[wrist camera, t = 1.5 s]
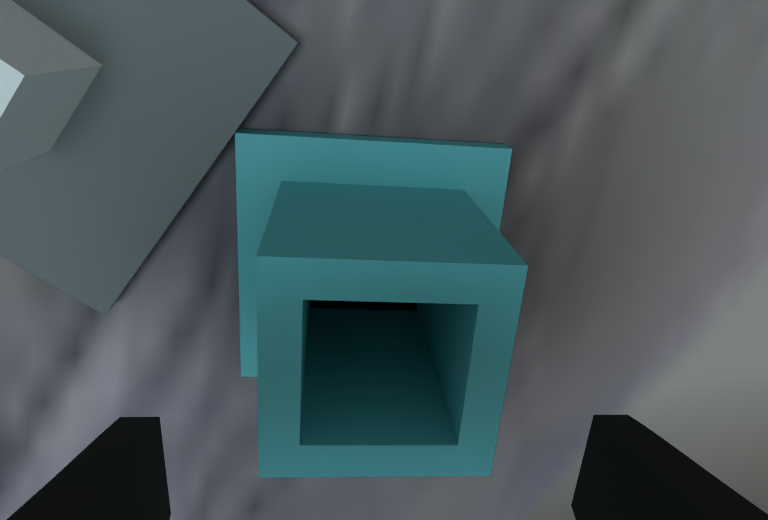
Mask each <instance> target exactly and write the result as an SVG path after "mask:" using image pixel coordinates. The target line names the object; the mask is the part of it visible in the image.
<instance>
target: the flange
mask: <svg viewBox="0 0 768 520" xmlns="http://www.w3.org/2000/svg"><path fill="white" fill-rule="evenodd" d="M511 154H512V148H510V147H509V146H507V145H505V144H496V143H479V142H462V141H445V140H427V139H410V138H393V137H376V136H359V135H342V134H325V133H307V132H290V131H273V130H256V129H238V130H237V131H236V132H235V156H236V195H237V235H238V275H239V314H240V354H241V377H258V449H259V478H269V477H428V476H491V471H492V465H493V460H494V454H495V448H496V443H497V437H498V432H499V426H500V420H501V415H502V409H503V404H504V398H505V392H506V387H507V381H508V376H509V370H510V365H511V359H512V353H513V348H514V342H515V337H516V331H517V325H518V320H519V314H520V309H521V303H522V297H523V292H524V286H525V281H526V275H527V269H528V265H527V264H526V262H525V261H524V260H523V259H522V258H521V257H520V255H519V254H518V253H517V252H516V251H515V250H514V248H513V247H512V246H511V245H510V244H509V242H508V241H507V240H506V239H505V238H504V237H503V235H502V234H501V233H500V225H501V219H502V212H503V206H504V200H505V193H506V187H507V180H508V174H509V167H510V161H511ZM311 300H330V301H367V302H404V303H417V311H404V310H365V309H326V308H310V302H311Z"/></svg>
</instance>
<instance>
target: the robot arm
mask: <svg viewBox="0 0 768 520" xmlns="http://www.w3.org/2000/svg"><path fill="white" fill-rule="evenodd" d="M571 506H572V509H573V512H574V515H575V518H576V520H768V514H767V513H765V512H764V511H762V510H761V509H759V508H758V507H756V506H755V505H754V504H752V503H751V502H749V501H748V500H746V499H745V498H744V497H742V496H741V495H740V494H738V493H737V492H735V491H734V490H733V489H731V488H730V487H728V486H727V485H726V484H724V483H723V482H721V481H720V480H719V479H717V478H716V477H715V476H713V475H712V474H710V473H709V472H708V471H706V470H705V469H704V468H702V467H701V466H699V465H698V464H697V463H695V462H694V461H693V460H691V459H690V458H689V457H687V456H686V455H684V454H683V453H682V452H680V451H679V450H677V449H676V448H675V447H674V446H672V445H671V444H669V443H668V442H667V441H665V440H664V439H662V438H661V437H659V436H658V435H657V434H656V433H654V432H653V431H651V430H650V429H648V428H647V427H646V426H644V425H643V424H641V423H640V422H638V421H637V420H635V419H633V418H632V417H630V416H629V415H594V416H593V420H592V424H591V428H590V432H589V436H588V440H587V444H586V448H585V452H584V456H583V460H582V464H581V468H580V472H579V476H578V480H577V485H576V489H575V493H574V497H573V501H572V505H571ZM170 515H171V511H170V503H169V494H168V486H167V477H166V468H165V460H164V451H163V443H162V434H161V426H160V417H120V418H118V419H117V420H116V421H115V422H114V423H113V424H112V425H111V426H109V427H108V428H107V429H106V430H105V431H104V432H103V433H102V434H100V435H99V436H98V437H97V438H96V439H95V440H94V441H93V442H92V443H91V444H90V445H89V446H87V447H86V448H85V449H84V450H83V451H82V452H81V453H80V454H79V455H78V456H77V457H76V458H74V459H73V460H72V461H71V462H70V463H69V464H68V465H67V466H66V467H65V468H64V469H63V470H61V471H60V472H59V473H58V474H57V475H56V476H55V477H54V478H53V479H52V480H51V481H49V482H48V483H47V484H46V485H45V486H44V487H43V488H42V489H41V490H39V491H38V492H37V493H36V494H35V495H34V496H33V497H32V498H30V499H29V500H28V501H27V502H26V503H25V504H24V505H23V506H21V507H20V508H19V509H18V510H17V511H16V512H15V513H14V514H12V515H11V516H10V517H9V518H8V519H7V520H169V519H170Z"/></svg>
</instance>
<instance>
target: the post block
mask: <svg viewBox="0 0 768 520" xmlns="http://www.w3.org/2000/svg"><path fill="white" fill-rule="evenodd" d="M299 43H300V42H299V41H298V40H296V39H295V38H294V37H293V36H292V35H290V34H289V33H288V32H287V31H286V30H284V29H283V28H282V27H281V26H279V25H278V24H277V23H276V22H275V21H273V20H272V19H271V18H270V17H269V16H267V15H266V14H265V13H264V12H262V11H261V10H260V9H259V8H258V7H256V6H255V5H254V4H253V3H251V2H250V1H249V0H0V255H1V256H2V257H4V258H6V259H8V260H9V261H11V262H13V263H15V264H16V265H18V266H20V267H21V268H23V269H25V270H27V271H28V272H30V273H32V274H34V275H35V276H37V277H39V278H41V279H42V280H44V281H46V282H48V283H49V284H51V285H53V286H55V287H56V288H58V289H60V290H62V291H63V292H65V293H67V294H68V295H70V296H72V297H74V298H75V299H77V300H79V301H81V302H82V303H84V304H86V305H88V306H89V307H91V308H93V309H95V310H96V311H98V312H100V313H102V314H103V315H106V314H107V312H108V311H109V310H110V309H111V308H112V306H113V305H114V304H115V303H116V301H117V300H118V299H119V297H120V296H121V294H122V293H123V291H124V290H125V289H126V287H127V286H128V284H129V283H130V282H131V280H132V279H133V277H134V276H135V275H136V273H137V272H138V270H139V269H140V267H141V266H142V265H143V263H144V262H145V260H146V259H147V258H148V256H149V255H150V253H151V252H152V251H153V249H154V248H155V246H156V245H157V243H158V242H159V241H160V239H161V238H162V236H163V235H164V234H165V232H166V231H167V229H168V228H169V227H170V225H171V224H172V222H173V221H174V219H175V218H176V217H177V215H178V214H179V212H180V211H181V210H182V208H183V207H184V205H185V204H186V203H187V201H188V200H189V198H190V197H191V195H192V194H193V193H194V191H195V190H196V188H197V187H198V186H199V184H200V183H201V181H202V180H203V179H204V177H205V176H206V174H207V173H208V171H209V170H210V169H211V167H212V166H213V164H214V163H215V162H216V160H217V159H218V157H219V156H220V155H221V153H222V152H223V150H224V149H225V147H226V146H227V145H228V143H229V142H230V140H231V139H232V138H233V136H234V135H235V132H236V131H237V130H238V129H239V128H240V126H241V125H242V123H243V122H244V121H245V119H246V118H247V116H248V115H249V114H250V112H251V111H252V109H253V108H254V107H255V105H256V104H257V102H258V101H259V99H260V98H261V97H262V95H263V94H264V92H265V91H266V90H267V88H268V87H269V85H270V84H271V83H272V81H273V80H274V78H275V77H276V76H277V74H278V73H279V71H280V70H281V68H282V67H283V66H284V64H285V63H286V61H287V60H288V59H289V57H290V56H291V54H292V53H293V52H294V50H295V49H296V47H297V46H298V44H299Z"/></svg>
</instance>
